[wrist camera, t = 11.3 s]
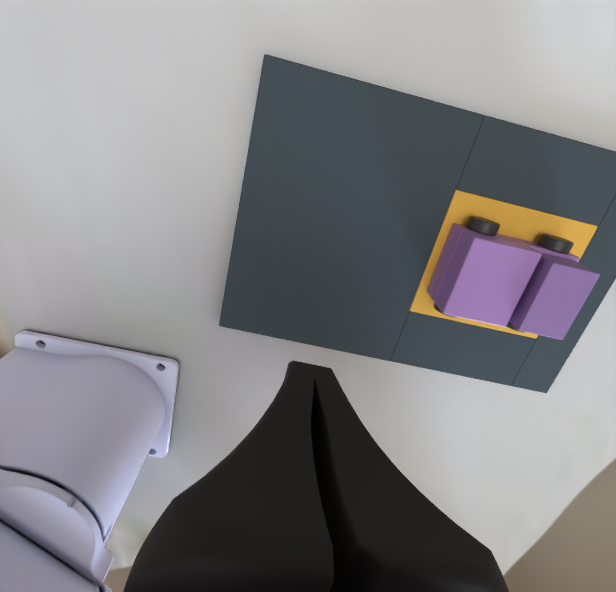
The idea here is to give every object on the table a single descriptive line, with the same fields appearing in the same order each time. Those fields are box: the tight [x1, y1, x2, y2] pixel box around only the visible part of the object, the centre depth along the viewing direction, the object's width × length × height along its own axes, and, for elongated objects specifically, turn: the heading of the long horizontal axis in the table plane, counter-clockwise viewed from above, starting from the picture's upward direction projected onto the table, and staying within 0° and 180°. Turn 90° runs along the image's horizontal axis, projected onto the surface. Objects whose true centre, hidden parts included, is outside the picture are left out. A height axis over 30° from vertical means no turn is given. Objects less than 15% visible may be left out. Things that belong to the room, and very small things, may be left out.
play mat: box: [219, 54, 616, 393], centre depth 21 cm, size 21×14×1 cm, turn 77°
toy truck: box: [427, 216, 600, 340], centre depth 20 cm, size 6×5×3 cm
